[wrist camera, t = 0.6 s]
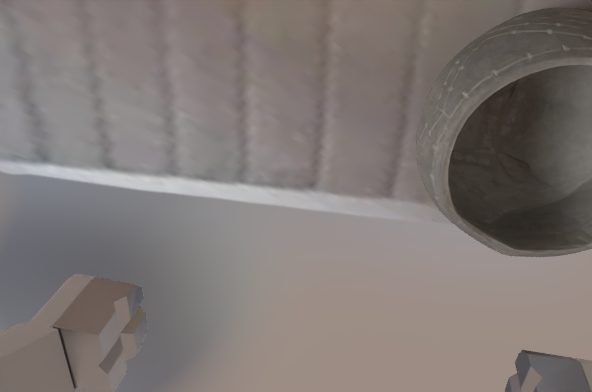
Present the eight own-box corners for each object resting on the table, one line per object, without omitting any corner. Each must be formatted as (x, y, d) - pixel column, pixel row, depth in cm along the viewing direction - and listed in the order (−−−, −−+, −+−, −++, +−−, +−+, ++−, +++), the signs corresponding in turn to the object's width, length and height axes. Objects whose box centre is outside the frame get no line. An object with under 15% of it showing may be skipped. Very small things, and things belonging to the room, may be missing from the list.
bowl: (557, -57, 45) (617, -40, 32) (678, 112, 50) (772, 185, 37) (374, 95, 55) (364, 155, 42) (491, 223, 60) (514, 311, 47)
